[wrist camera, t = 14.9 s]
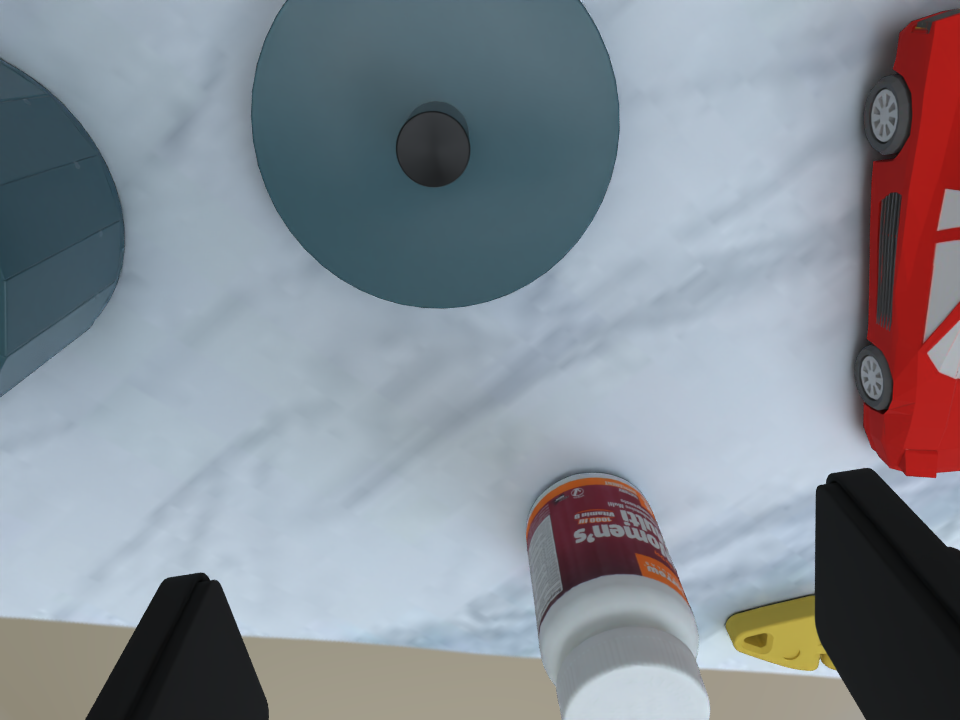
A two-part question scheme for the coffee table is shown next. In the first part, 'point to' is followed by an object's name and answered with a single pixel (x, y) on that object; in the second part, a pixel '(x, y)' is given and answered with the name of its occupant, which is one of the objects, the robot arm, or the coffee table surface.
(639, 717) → the pill bottle
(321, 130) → the lid
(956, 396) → the toy car
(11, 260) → the pot
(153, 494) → the coffee table surface
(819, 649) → the toy
